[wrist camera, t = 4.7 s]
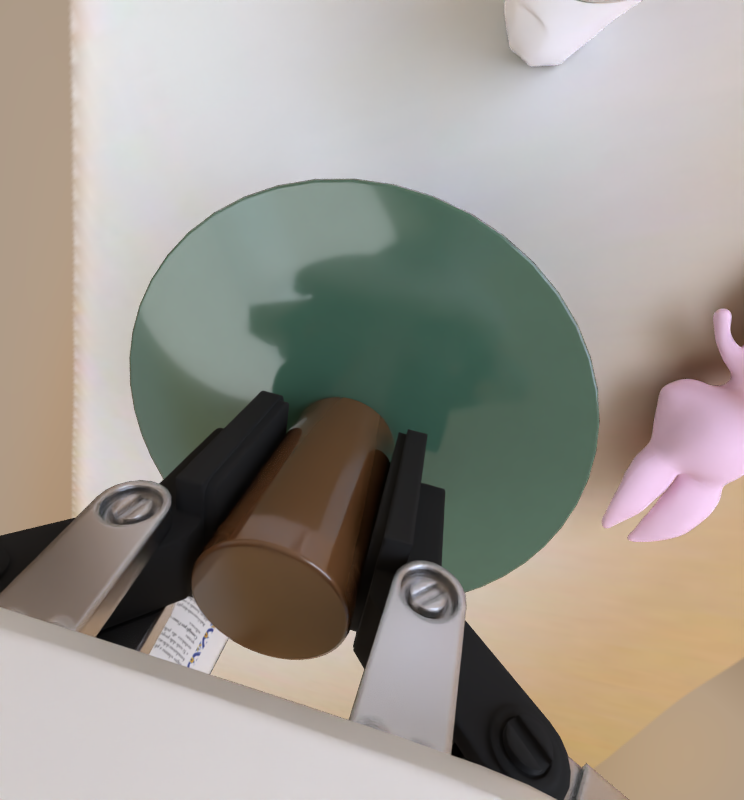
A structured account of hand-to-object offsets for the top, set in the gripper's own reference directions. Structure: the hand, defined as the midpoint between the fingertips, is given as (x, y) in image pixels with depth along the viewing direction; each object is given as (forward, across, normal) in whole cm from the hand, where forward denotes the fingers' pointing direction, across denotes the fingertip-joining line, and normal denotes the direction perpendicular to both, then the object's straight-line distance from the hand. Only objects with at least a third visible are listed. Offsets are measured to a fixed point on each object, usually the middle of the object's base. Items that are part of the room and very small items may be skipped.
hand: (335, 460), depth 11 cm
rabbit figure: (+11, -15, -1) cm, 19 cm away
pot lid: (+2, 0, 0) cm, 2 cm away
